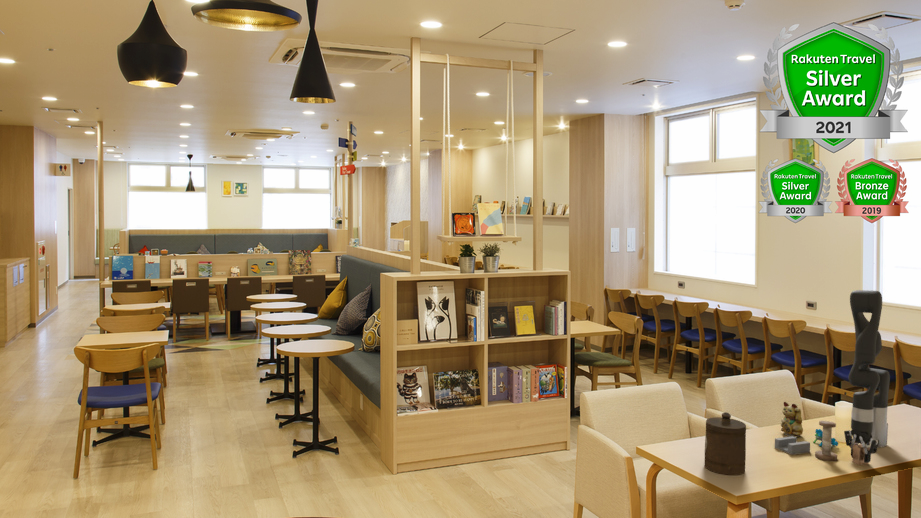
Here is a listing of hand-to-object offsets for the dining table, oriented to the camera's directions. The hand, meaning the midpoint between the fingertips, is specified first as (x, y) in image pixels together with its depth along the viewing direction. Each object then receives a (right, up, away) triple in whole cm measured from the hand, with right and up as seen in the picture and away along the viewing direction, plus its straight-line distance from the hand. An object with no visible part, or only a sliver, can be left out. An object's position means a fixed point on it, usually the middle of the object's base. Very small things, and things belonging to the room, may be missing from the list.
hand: (860, 459), depth 262 cm
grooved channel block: (-20, 0, +14) cm, 25 cm away
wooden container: (-58, -1, -7) cm, 58 cm away
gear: (-3, 0, +21) cm, 21 cm away
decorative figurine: (-10, +1, +35) cm, 36 cm away
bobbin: (-11, -1, +6) cm, 12 cm away
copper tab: (0, -1, 0) cm, 1 cm away
